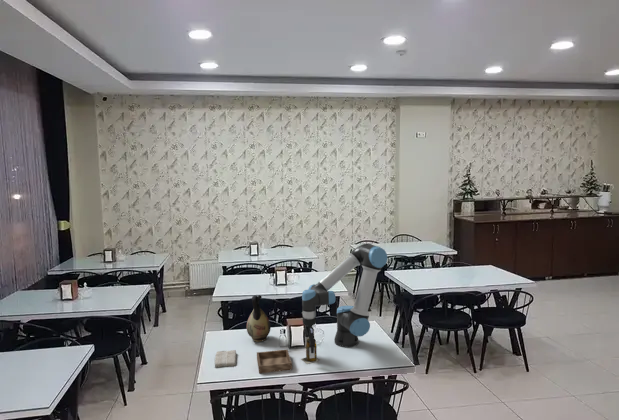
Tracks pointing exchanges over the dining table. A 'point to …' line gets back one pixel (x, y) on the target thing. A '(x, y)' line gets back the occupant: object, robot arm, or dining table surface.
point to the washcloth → (225, 358)
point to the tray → (274, 361)
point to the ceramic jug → (258, 322)
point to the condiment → (308, 359)
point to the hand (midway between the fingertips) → (309, 352)
